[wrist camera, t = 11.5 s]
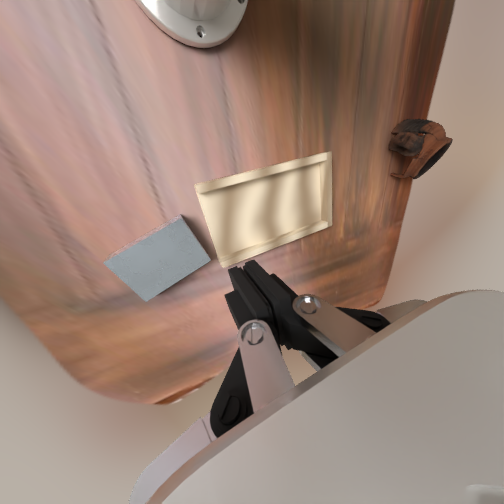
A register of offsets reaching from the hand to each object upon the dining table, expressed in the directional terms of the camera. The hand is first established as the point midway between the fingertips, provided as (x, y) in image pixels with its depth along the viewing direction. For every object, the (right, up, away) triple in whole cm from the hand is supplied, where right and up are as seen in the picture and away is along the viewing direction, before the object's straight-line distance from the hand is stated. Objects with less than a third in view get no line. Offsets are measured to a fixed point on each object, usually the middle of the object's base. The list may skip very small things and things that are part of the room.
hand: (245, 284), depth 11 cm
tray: (+3, +9, +18) cm, 21 cm away
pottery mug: (+29, +22, +25) cm, 44 cm away
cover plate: (-12, +2, +15) cm, 19 cm away
